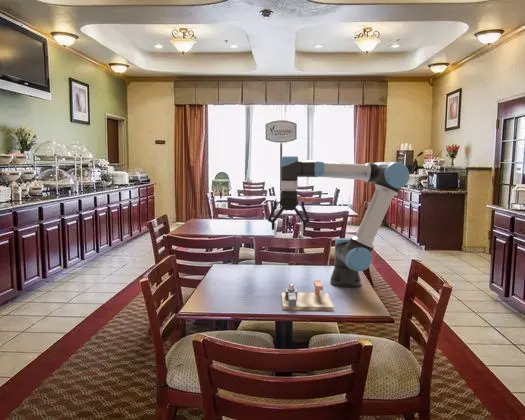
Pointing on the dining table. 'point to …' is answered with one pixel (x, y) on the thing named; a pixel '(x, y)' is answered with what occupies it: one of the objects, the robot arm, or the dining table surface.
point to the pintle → (291, 287)
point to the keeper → (318, 287)
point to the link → (291, 296)
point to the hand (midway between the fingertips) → (288, 237)
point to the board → (309, 302)
